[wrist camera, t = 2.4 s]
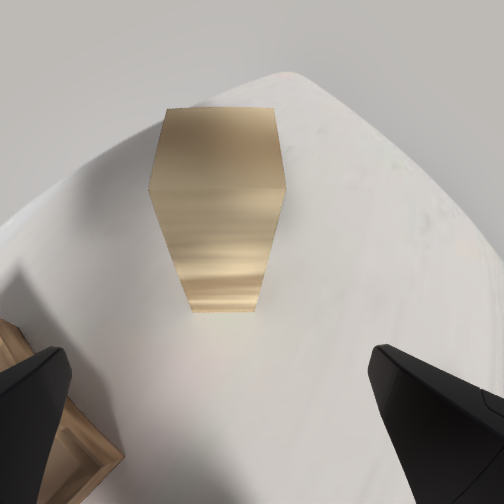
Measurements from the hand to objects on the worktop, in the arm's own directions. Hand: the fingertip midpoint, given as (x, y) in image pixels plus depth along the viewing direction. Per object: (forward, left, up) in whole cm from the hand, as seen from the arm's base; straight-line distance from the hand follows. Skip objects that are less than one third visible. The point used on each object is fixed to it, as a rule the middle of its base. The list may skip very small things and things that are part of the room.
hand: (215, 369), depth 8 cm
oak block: (+5, -6, -13) cm, 15 cm away
